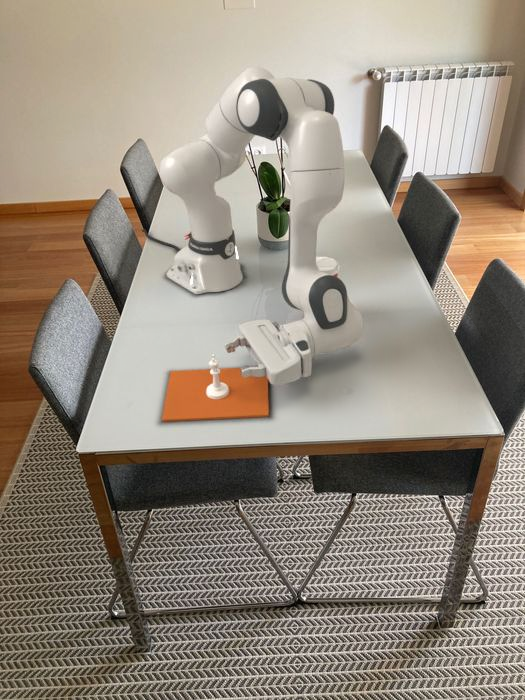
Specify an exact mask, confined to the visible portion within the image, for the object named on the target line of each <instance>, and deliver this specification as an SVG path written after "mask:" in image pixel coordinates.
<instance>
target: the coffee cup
mask: <svg viewBox="0 0 525 700" xmlns="http://www.w3.org/2000/svg"><path fill="white" fill-rule="evenodd" d="M316 264H317V267H318V269H319V270H320V271H321V272H325V273H328V274H331V275H333V276H336V277H338V276H339V272H340V270H341V269H340V268H341V266H340V265H339V263H338V261H337V260H335V259H334V258H332V257H329V256H316Z"/></svg>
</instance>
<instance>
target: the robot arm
mask: <svg viewBox="0 0 525 700" xmlns="http://www.w3.org/2000/svg"><path fill="white" fill-rule="evenodd" d="M334 113H335V98H334V95H333V92H332V90H331V89H330V88H329V86H327V85H326V84H325V83H323V82H321V81H318V80H315V79H309V78H308V79H303V78H297V77H284V78H282V77H281V78H280V77H279V78H276V77H275V76H274V75H273V74H272V72H270V71H269V70H267V69H266V68H264V67H261V66H250V67H248V68H246V69H245V70H243V72H241V73H240V74H239V75H237V77H235V79H234V80H233V81H232V82H231V83H230V84H229V85H228V86H227V88H226V89H225V90H224V92H223V93H222V94H221V96H220V97H219V99H218V100H217V102H216V103H215V105H213V108H212V109H211V111H210V112H209V114H208V115H207V116H206V118H205V125H204V126H205V131H206V133H205V134H203V135H202V136H200V137H198V138H197V139H196V140H194V141H191V142H189V143H186V144H184V145H181V146H178V147H177V148H174V149H173V150H172V151H170V153H168V154H167V155H165V156H164V157H163V158H162V159H161V161H160V163H159V177H160V180H161V182H162V184H163V186H164V187H165V188H166V190H168V191H169V192H170V193H171V194H173V195H176V196H177V197H179V198H180V199H181V201H182V202H183V204H184V206H185V208H186V211H187V215H188V220H189V226H190V227H189V228H190V232H189V233H188V234H185V235H184V240H185V241H186V240H188V244H186V245H185V246H184V247H182V248H181V249H180V248H179V247H178V246H176V245H174V244H172V243H169V242H165V241H162V240H160V239H157V238H155V237H153V236H151V235H150V234H149V233H148V231H147V229H145V228H143V229H142V231H141V232H142V233H144V235H145V236H146V237H147V238H148V239H150V240H152V241H154V242H156V243H159V244H162V245H164V246H168V247H171V248H173V249H175V250H176V251H177V253H176V254H175V255H174V258H173V265H172V266H171V267H170V268H169V269H168V270H167V272H166V277H167V278H168V279H169V280H171V281H172V282H174V283H176V284H178V285H179V286H181V287H183V288H184V289H186V290H187V291H189V292H191V293H192V294H194V295H201V294H206V293H220V292H224V291H228V290H230V289H234V288H235V287H237V286H238V285H240V284H241V283H242V282H243V279H244V275H243V272H242V270H241V264H240V262H239V254H238V249H237V246H236V236H235V235H236V234H235V230H234V229H233V221H232V209H231V205H230V203H229V201H227V200H226V199H225V198H224V197H222V196H220V195H217V191H216V190H215V189H216V188H215V184H216V183H218V182H219V181H221V180H223V179H226V178H228V177H229V176H231V175H233V174H234V173H235V172H236V171H238V170H239V168H241V167H242V166H243V164H244V163H245V162H246V157H247V156H246V155H247V151H246V148H247V146H248V145H249V144H250V143H251V141H252V140H253V139H254V137H256V136H257V137H260V138H265V139H266V140H269V141H272V142H274V141H276V140H277V139H278V138H280V139H282V140H283V141H284V142H285V143H286V145H287V148H288V157H289V159H288V160H289V161H288V162H289V163H288V164H289V188H290V193H289V194H290V202H289V203H290V204H289V215H288V218H289V219H288V247H287V249H288V250H287V253H288V254H287V267H286V270H285V272H284V276H283V279H282V282H281V294H282V297H283V299H284V301H285V303H286V304H287V305H288V306H289V307H291V308H292V309H295V310H298V311H301V312H303V318H302V319H298V320H295V321H292V322H288V323H287V322H286V323H284V324H279V323H278V322H277V321H273V320H271V319H265V318H263V319H261V318H260V319H255V320H251V321H245V322H242V323H241V324H239V326H238V335H237V336H236V337H235V338H234V339H233V340H232V341H228V342H226V343H224V349H225V351H226V352H227V353H228V354H231V353H235V352H236V349H238V347H241V348H242V347H245V349H246V350H247V351H248V352H249V354H250V356H252V359H253V360H254V361H255V363H256V364H257V366H250V365H248V364H247V365H245V366H241V367H239V368H240V371H241V374H242V376H243V377H244V378H246V377H249V376H255V377H263V376H266V377H267V379H268V383H270V385H272V386H277V387H280V386H284V385H287V384H290V383H293V382H296V381H298V380H300V379H301V377H302V378H308V377H310V376H311V375H312V369H313V368H312V367H313V366H312V359H314V358H316V357H317V356H319V355H322V354H331V353H335V352H338V351H341V350H343V349H346V348H348V347H350V346H352V345H354V344H355V343H357V342H358V341H360V339H361V338H362V336H363V333H364V326H365V324H364V318H363V315H362V313H361V311H360V310H359V309H357V307H356V306H355V305H354V304H353V303H352V301H351V300H350V297H349V295H348V290H347V287H346V285H345V283H344V282H343V280H342V279H340V278H339V277H338V276H337V277H336V276H333V275H331V274H328V273H325V272H321V271H320V270H319V269H318V267H317V264H316V257H317V244H318V243H317V241H318V228H319V225H320V223H321V221H322V220H323V219H324V217H325V216H327V215H328V214H330V213H331V212H332V211H334V210H335V209H336V208H337V207H338V205H339V204H340V203H341V201H342V200H343V195H344V189H345V155H344V146H343V140H342V139H343V138H342V134H341V129H340V124H339V121H338V119H337V118H336V117H335V115H334Z"/></svg>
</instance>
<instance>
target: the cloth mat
mask: <svg viewBox="0 0 525 700" xmlns="http://www.w3.org/2000/svg"><path fill="white" fill-rule="evenodd" d="M240 368H241V367H230V368H229V367H227V368H218V369H219V370H220V373H219V374H218V377H219V380H220V382H222V383H225V384H226V385H227V386H228V388H229V393H228V395H227V396H226V397H224V398H221V399H212V398H209V397H208V396H207V394H206V390H207V387H208V386H209V385H211V384H212V383H213V375H212V374H211V373H210V370H211V369H212V368H208V369H188V370H187V369H185V370H171V371H170V373H169V378H168V383H167V390H166V394H165V400H164V405H163V411H162V416H161V422H186V421H187V422H188V421H205V420H206V421H207V420H208V421H209V420H227V419H247V418H248V419H249V418H250V419H251V418H269V417H270V408H269V405H270V404H269V380H268V379H267V377H266V376H263V377H255V376H249V377H246V378H244V377H243V376H242V374H241V371H240Z"/></svg>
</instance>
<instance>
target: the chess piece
mask: <svg viewBox="0 0 525 700" xmlns="http://www.w3.org/2000/svg"><path fill="white" fill-rule="evenodd" d="M215 356H216V355H215V353H212V354H211V360H210V361H208V365H209V366H210V369H211V370H210V373H211V374H212V375H213V383H212V384H211V385H209V386H208V387H207V390H206V394H207V396H208V397H209V398H212V399H221V398H224V397H226V396H227V395H228V393H229V388H228V386H227V385H226V384H225V383H222V382H220V380H219V377H218V374H219V373H220V370H219V369H220V368H219V364H220V362H219V360H218V359H215Z"/></svg>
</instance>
